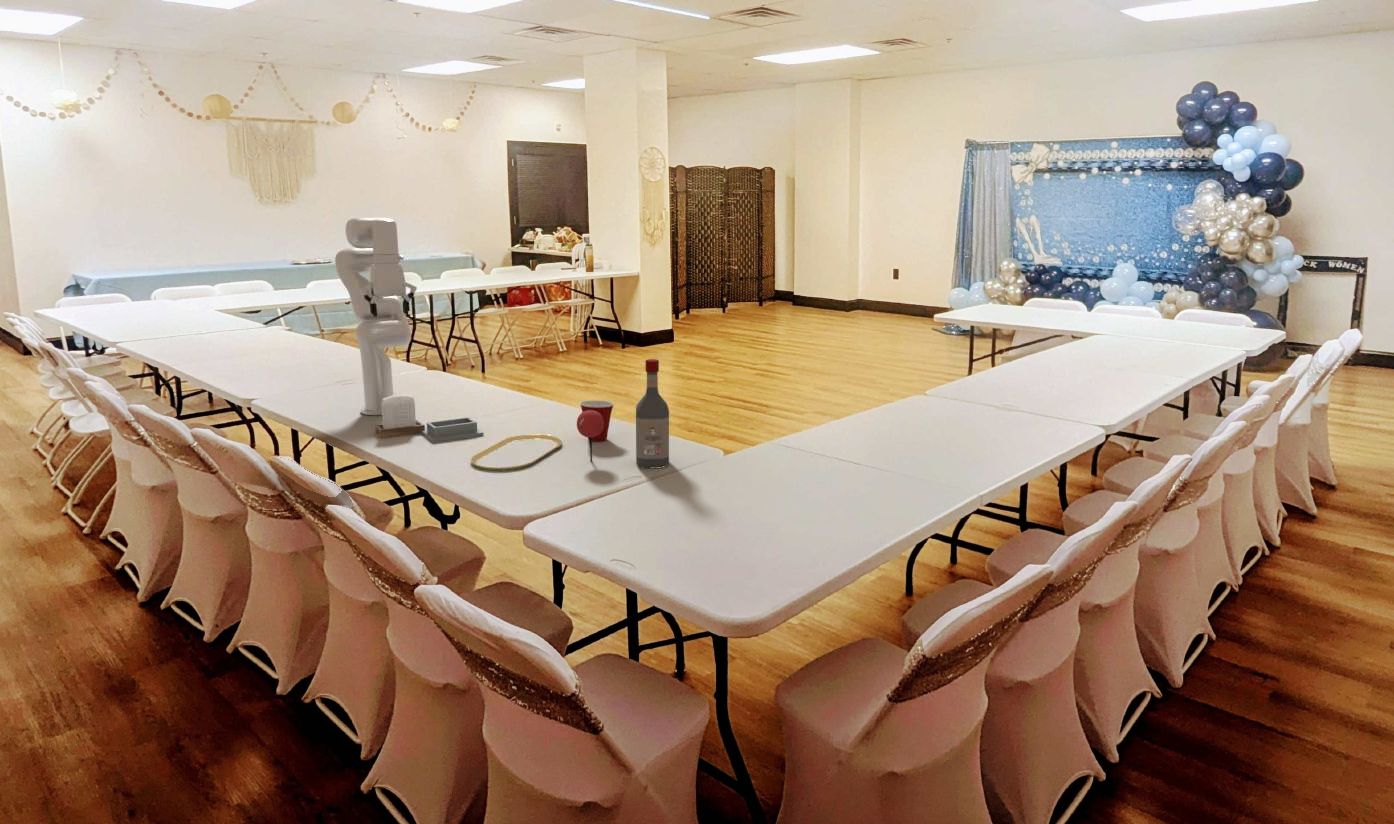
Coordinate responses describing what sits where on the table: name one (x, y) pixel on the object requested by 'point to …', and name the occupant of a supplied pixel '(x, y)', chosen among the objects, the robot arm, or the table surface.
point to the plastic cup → (605, 412)
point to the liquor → (652, 423)
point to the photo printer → (398, 411)
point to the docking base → (451, 429)
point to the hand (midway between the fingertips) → (390, 314)
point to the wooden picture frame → (399, 430)
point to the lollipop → (590, 425)
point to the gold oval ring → (508, 440)
